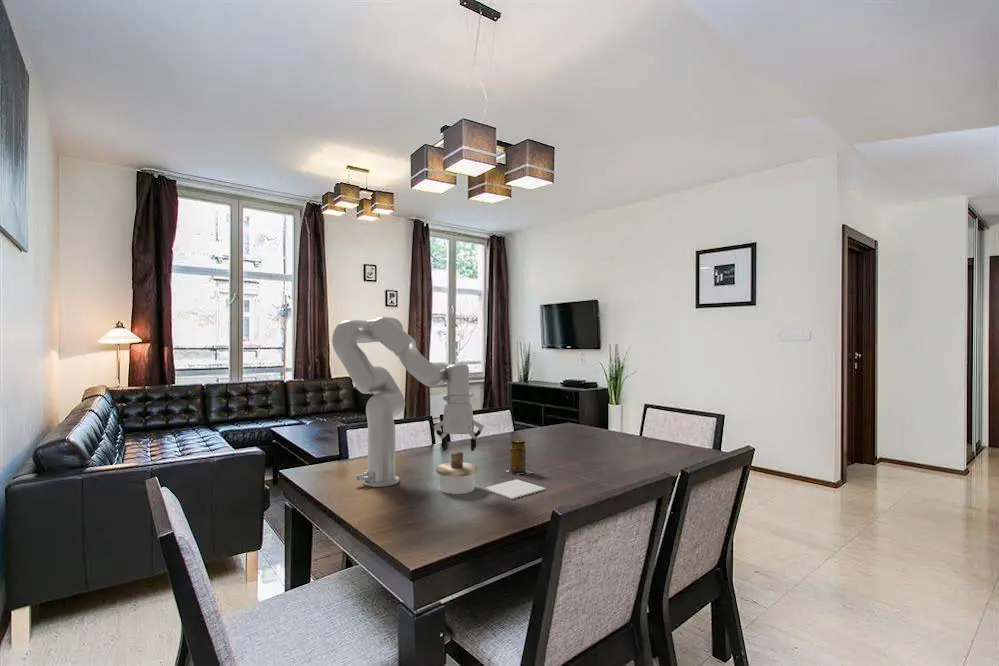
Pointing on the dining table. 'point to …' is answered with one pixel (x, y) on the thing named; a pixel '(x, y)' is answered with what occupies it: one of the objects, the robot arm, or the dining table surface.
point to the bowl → (457, 484)
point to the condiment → (517, 457)
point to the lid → (456, 466)
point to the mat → (514, 489)
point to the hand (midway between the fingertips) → (459, 449)
